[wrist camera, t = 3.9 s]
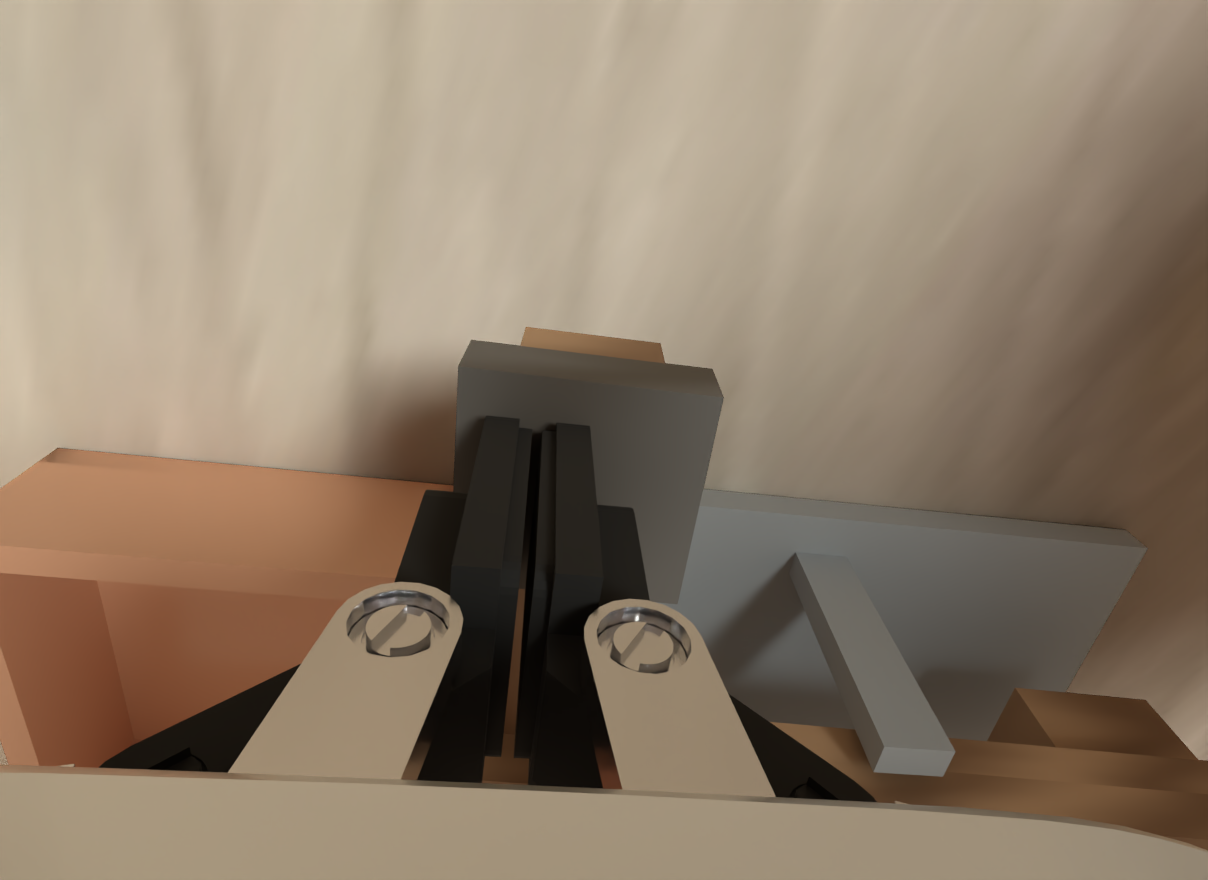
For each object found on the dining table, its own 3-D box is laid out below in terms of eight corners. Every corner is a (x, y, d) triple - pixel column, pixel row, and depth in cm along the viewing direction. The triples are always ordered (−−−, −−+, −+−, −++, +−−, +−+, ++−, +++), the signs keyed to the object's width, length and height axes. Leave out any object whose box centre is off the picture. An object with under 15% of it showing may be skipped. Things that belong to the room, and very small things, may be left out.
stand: (1125, 529, 23) (1375, 736, 16) (977, 799, 28) (1110, 1041, 21) (494, 468, 21) (451, 670, 14) (473, 769, 27) (435, 1020, 20)
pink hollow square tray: (469, 487, 21) (444, 582, 17) (455, 755, 26) (433, 876, 22) (57, 448, 20) (-71, 539, 16) (126, 734, 25) (41, 858, 21)
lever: (1368, 388, 16) (1777, 552, 11) (1062, 851, 24) (1206, 1092, 18) (501, 278, 15) (442, 398, 9) (466, 804, 23) (422, 1047, 17)
